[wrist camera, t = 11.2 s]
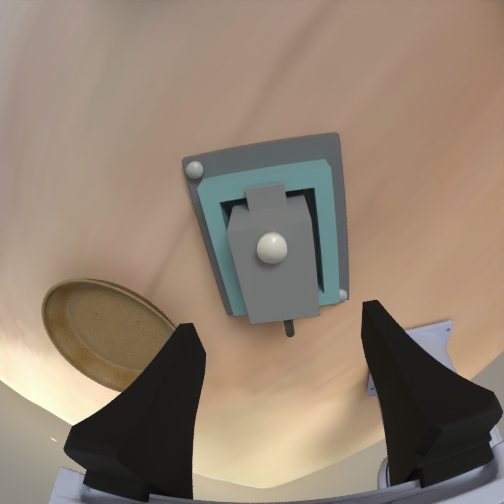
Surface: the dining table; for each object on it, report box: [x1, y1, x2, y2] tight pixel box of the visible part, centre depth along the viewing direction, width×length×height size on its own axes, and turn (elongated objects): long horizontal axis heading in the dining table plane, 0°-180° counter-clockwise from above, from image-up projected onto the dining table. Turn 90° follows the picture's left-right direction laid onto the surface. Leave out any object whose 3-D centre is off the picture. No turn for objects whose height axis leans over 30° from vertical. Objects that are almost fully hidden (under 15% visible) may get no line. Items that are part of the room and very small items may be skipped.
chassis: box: [182, 132, 349, 316], centre depth 19 cm, size 12×9×2 cm
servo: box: [227, 181, 320, 337], centre depth 18 cm, size 11×4×5 cm, turn 11°
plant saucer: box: [42, 279, 176, 392], centre depth 25 cm, size 15×15×3 cm
